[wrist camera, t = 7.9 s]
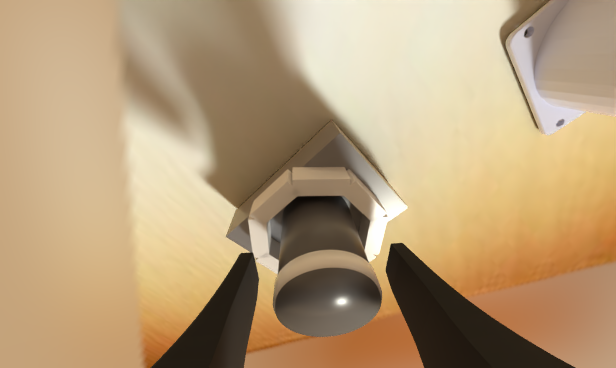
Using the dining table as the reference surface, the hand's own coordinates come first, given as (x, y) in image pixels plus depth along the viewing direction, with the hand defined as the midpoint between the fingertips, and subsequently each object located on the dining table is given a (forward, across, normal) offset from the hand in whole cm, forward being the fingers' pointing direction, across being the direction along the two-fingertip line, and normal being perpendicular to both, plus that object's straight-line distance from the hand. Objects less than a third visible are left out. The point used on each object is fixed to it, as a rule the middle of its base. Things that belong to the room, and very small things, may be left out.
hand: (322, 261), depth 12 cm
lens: (+3, 0, 0) cm, 3 cm away
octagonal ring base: (+6, 0, 0) cm, 6 cm away
